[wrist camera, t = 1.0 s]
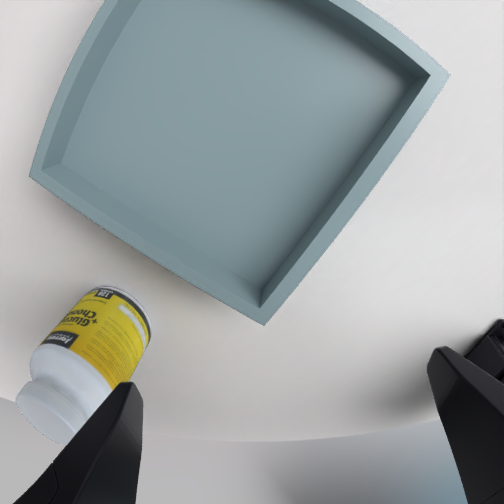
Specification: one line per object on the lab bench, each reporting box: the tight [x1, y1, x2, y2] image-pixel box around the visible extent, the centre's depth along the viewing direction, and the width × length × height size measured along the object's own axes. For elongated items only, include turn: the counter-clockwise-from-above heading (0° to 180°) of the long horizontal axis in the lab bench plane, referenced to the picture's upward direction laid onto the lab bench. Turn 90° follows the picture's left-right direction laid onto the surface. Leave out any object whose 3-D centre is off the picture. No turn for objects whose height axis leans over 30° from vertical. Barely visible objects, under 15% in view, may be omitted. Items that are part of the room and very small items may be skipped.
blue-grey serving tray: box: [29, 0, 451, 326], centre depth 15 cm, size 16×16×5 cm
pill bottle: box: [16, 287, 151, 446], centre depth 19 cm, size 6×6×12 cm
